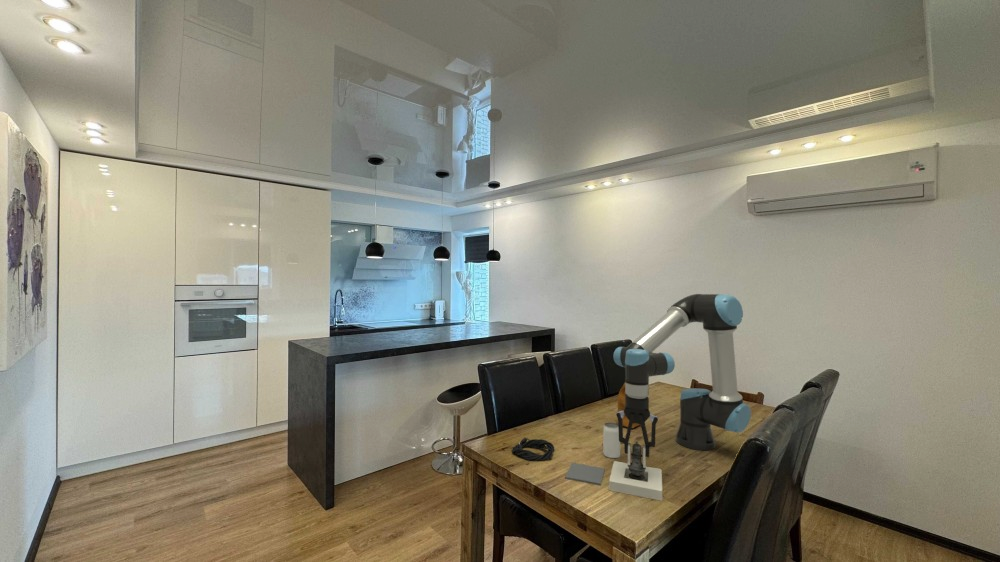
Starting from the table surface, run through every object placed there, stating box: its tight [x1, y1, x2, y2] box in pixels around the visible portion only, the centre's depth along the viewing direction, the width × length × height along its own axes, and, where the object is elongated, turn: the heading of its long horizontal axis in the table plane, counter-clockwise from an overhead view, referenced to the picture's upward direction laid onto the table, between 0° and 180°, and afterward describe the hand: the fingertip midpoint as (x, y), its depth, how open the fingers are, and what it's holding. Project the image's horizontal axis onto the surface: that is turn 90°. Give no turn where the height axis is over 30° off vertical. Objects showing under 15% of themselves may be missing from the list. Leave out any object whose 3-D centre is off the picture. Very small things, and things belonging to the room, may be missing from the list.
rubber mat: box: [564, 462, 606, 486], centre depth 137 cm, size 12×12×1 cm
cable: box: [511, 437, 555, 461], centre depth 154 cm, size 17×14×4 cm
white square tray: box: [608, 460, 663, 502], centre depth 131 cm, size 16×16×3 cm
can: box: [602, 421, 621, 459], centre depth 153 cm, size 6×6×12 cm
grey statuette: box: [628, 441, 647, 481], centre depth 131 cm, size 6×6×12 cm
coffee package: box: [617, 382, 641, 429], centre depth 188 cm, size 10×12×22 cm
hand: (636, 464), depth 131 cm, fingers closed on grey statuette, 4 cm apart
